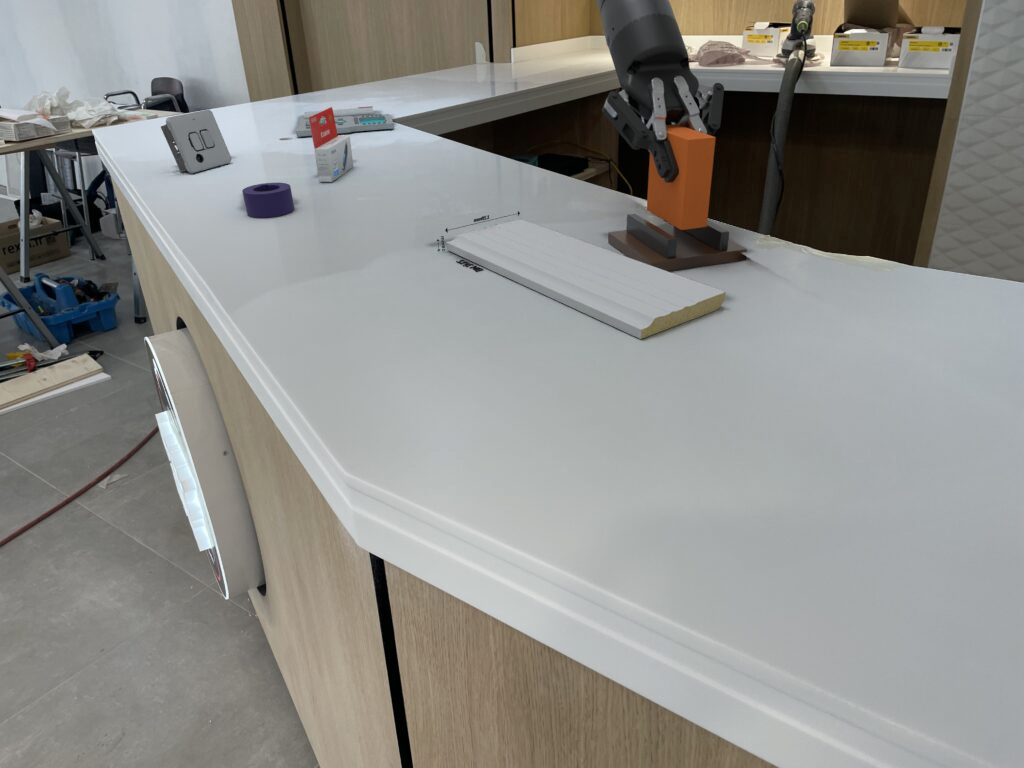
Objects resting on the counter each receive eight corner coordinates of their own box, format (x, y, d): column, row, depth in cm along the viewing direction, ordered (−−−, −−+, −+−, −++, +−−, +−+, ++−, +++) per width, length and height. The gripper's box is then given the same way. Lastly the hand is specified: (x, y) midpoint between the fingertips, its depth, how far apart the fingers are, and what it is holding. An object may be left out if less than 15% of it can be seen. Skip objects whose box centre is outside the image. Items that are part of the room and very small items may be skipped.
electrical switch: (192, 174, 123) (174, 116, 119) (171, 175, 125) (153, 118, 121) (233, 163, 130) (218, 108, 126) (213, 164, 133) (198, 110, 128)
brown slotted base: (694, 231, 86) (696, 204, 85) (745, 260, 77) (749, 230, 75) (607, 242, 84) (608, 215, 82) (650, 274, 74) (652, 243, 73)
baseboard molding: (628, 345, 60) (723, 307, 66) (629, 312, 59) (727, 277, 65) (435, 253, 83) (520, 231, 89) (433, 227, 81) (519, 207, 87)
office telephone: (299, 109, 168) (386, 103, 172) (301, 121, 169) (387, 115, 173) (294, 124, 148) (393, 117, 151) (296, 137, 149) (394, 130, 153)
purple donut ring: (298, 213, 99) (294, 189, 98) (250, 220, 97) (245, 196, 96) (282, 194, 109) (278, 172, 108) (238, 200, 107) (233, 178, 105)
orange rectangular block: (670, 207, 82) (676, 123, 78) (707, 227, 76) (715, 137, 71) (646, 210, 82) (651, 126, 77) (680, 230, 75) (688, 139, 71)
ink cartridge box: (354, 166, 124) (346, 105, 119) (333, 182, 114) (323, 117, 110) (340, 167, 124) (331, 106, 119) (317, 183, 115) (307, 117, 110)
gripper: (592, 14, 74) (638, 162, 69) (716, 7, 77) (768, 148, 73) (573, 66, 81) (614, 203, 76) (687, 58, 84) (733, 189, 80)
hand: (688, 175), depth 75 cm, fingers closed on orange rectangular block, 3 cm apart
